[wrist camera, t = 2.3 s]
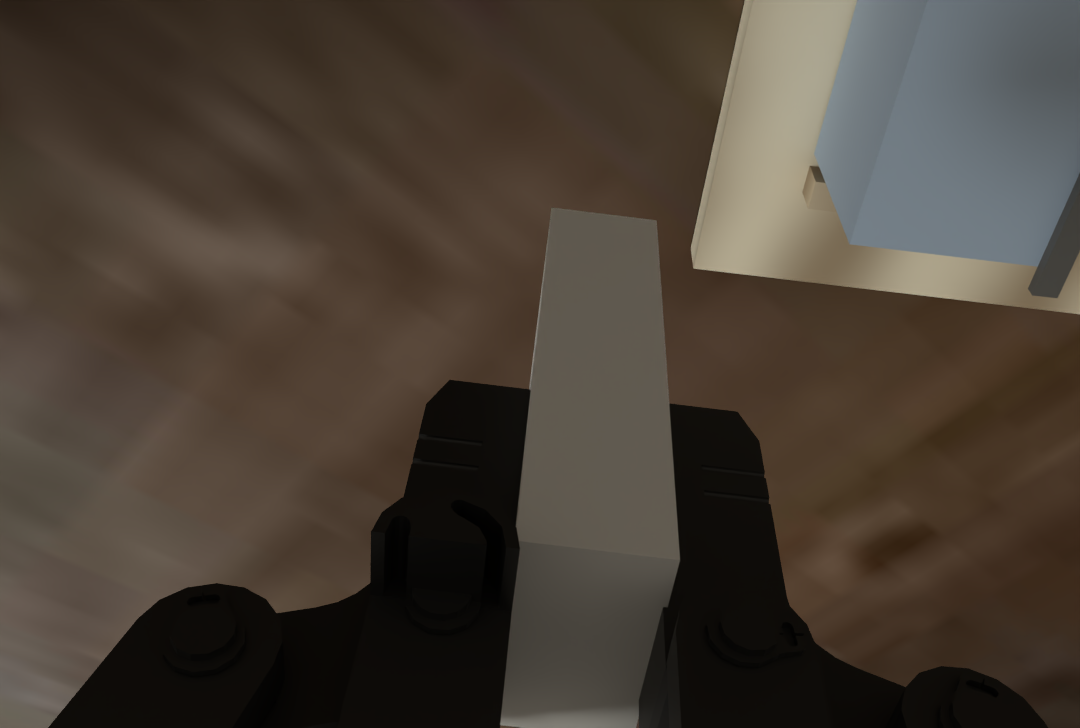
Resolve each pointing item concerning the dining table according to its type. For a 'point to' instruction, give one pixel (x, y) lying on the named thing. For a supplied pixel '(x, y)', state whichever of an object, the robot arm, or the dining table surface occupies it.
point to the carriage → (960, 132)
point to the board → (814, 176)
